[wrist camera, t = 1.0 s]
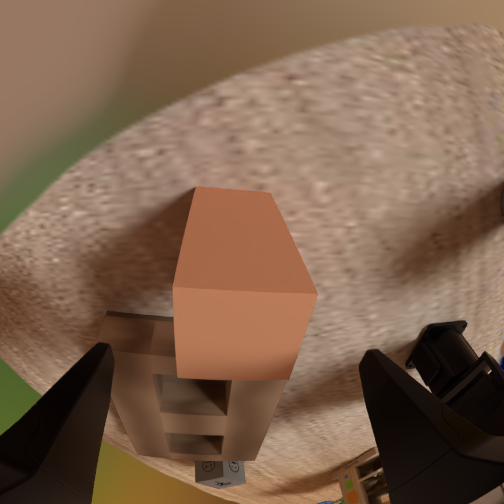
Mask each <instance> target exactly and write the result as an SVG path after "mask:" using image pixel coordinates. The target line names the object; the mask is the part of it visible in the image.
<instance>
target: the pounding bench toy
mask: <svg viewBox="0 0 504 504" xmlns="http://www.w3.org/2000/svg"><path fill="white" fill-rule="evenodd" d="M376 474H377V477H374V475H376ZM379 474H380V475H379ZM330 477H331V480H337V479H338V481H339V484H340V488H341V492H342V495H343V497H342V498H341V500H344V503H345V504H382V501H381V498H380V497H385V496H387V495H389V494H388V493H389V492H388V489H387V485H386V480H385V476H384V472H383V468H382V464H381V460H380V456H379V452H378V448H377V447H374V448H372V449H371V450H369V451H368V452H366V453H365V454H363V455H362V456H360V457H358V458H357V459H355V460H353V461H352V462H350V463H348V464H347V465H345V466H343V467H342V468H340V469H338V470H336V471H335V472H333V473H331V474H330Z"/></svg>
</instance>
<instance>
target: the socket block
mask: <svg viewBox="0 0 504 504" xmlns="http://www.w3.org/2000/svg"><path fill="white" fill-rule="evenodd" d="M98 342H106V343H109V344H110V345H111V348H112V352H113V355H114V359H115V366H114V374H113V381H112V389H111V398H112V400H113V402H114V405H115V407H116V410H117V412H118V414H119V416H120V419H121V421H122V423H123V425H124V427H125V430H126V432H127V434H128V436H129V438H130V440H131V442H132V444H133V446H134V448H135V450H136V452H137V454H138V455H143V456H151V457H160V458H170V459H182V460H199V461H254V460H255V459H256V457H257V454H258V452H259V450H260V447H261V445H262V442H263V440H264V438H265V435H266V433H267V430H268V428H269V425H270V423H271V420H272V418H273V415H274V413H275V410H276V408H277V405H278V402H279V400H280V397H281V394H282V392H283V389H284V386H285V384H286V381H287V380H208V379H189V378H177V366H176V352H175V335H174V317H161V316H150V315H139V314H129V313H119V312H110V311H107V314H106V316H105V319H104V321H103V324H102V326H101V329H100V331H99V334H98V337H97V339H96V342H95V344H96V343H98Z"/></svg>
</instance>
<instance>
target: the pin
mask: <svg viewBox="0 0 504 504" xmlns="http://www.w3.org/2000/svg"><path fill="white" fill-rule="evenodd" d="M317 295H318V293H317V291H316V289H315V286H314V284H313V282H312V280H311V277H310V275H309V273H308V271H307V269H306V266H305V264H304V262H303V260H302V258H301V256H300V253H299V251H298V249H297V247H296V245H295V243H294V241H293V238H292V236H291V234H290V232H289V230H288V228H287V226H286V224H285V222H284V220H283V217H282V215H281V213H280V211H279V209H278V207H277V205H276V203H275V201H274V199H273V197H272V195H271V193H266V192H255V191H245V190H233V189H221V188H207V187H196V188H195V192H194V196H193V200H192V204H191V208H190V212H189V216H188V220H187V224H186V228H185V232H184V237H183V241H182V245H181V250H180V254H179V259H178V263H177V268H176V273H175V278H174V282H173V315H174V335H175V352H176V366H177V378H189V379H208V380H289V378H290V375H291V372H292V370H293V367H294V364H295V361H296V358H297V356H298V353H299V350H300V347H301V344H302V341H303V338H304V335H305V332H306V329H307V326H308V323H309V320H310V317H311V314H312V311H313V308H314V305H315V301H316V298H317Z"/></svg>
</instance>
